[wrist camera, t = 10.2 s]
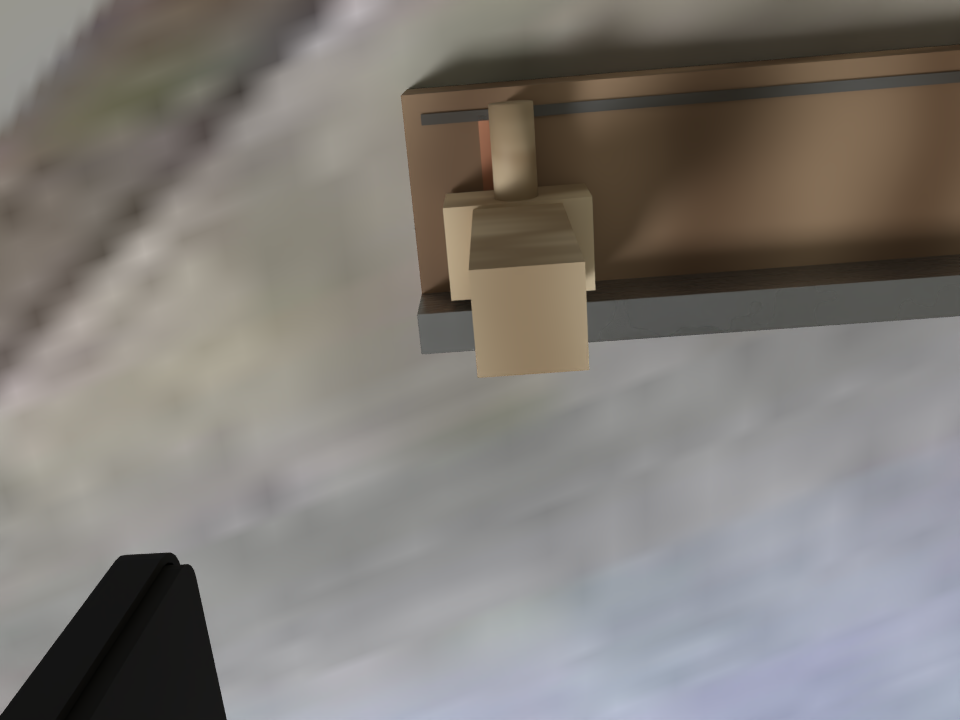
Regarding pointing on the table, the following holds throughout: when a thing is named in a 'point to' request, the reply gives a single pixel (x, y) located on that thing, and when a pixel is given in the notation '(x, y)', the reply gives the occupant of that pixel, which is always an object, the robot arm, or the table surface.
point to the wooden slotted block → (722, 190)
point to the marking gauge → (522, 257)
